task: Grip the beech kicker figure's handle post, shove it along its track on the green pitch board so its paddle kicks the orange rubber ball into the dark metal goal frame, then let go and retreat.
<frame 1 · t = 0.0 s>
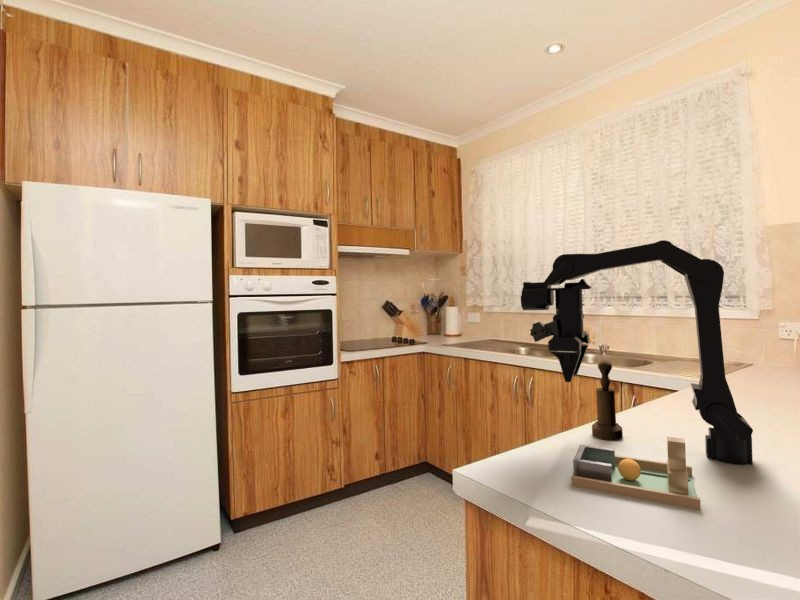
hand: (571, 378, 95), 15 cm above the worktop, fingers open, 9 cm apart
pitch: (633, 485, 73), on the worktop
ball: (629, 469, 73), point 3 cm above the worktop, touching pitch
pepper mill: (607, 436, 99), on the worktop
goal: (592, 478, 76), resting on pitch
kicker: (676, 462, 69), point 5 cm above the worktop, slide at 0.0 cm
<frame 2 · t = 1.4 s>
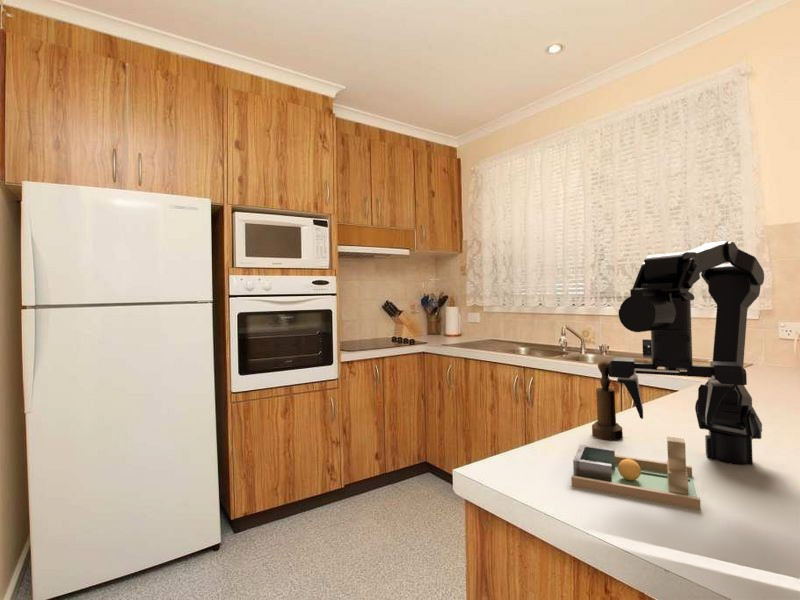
hand: (673, 421, 70), 12 cm above the worktop, fingers open, 9 cm apart
nothing on the worktop moved.
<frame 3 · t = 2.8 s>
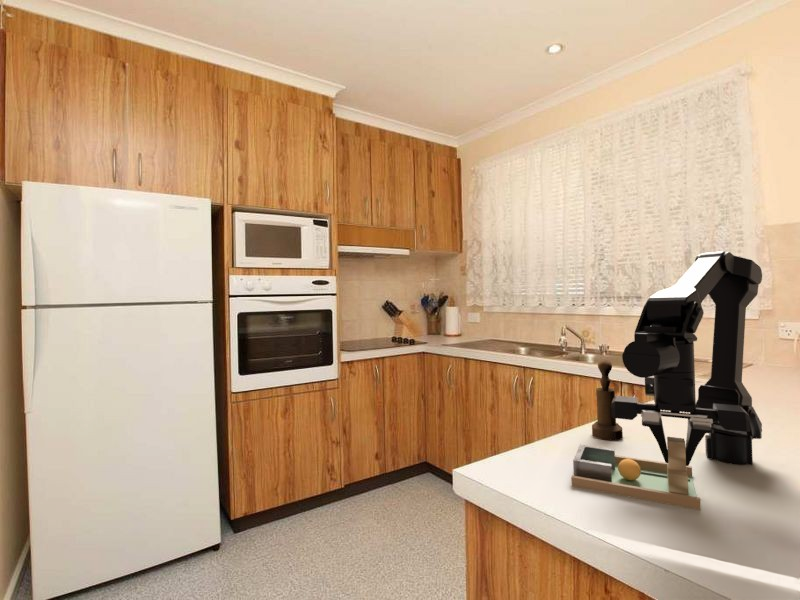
hand: (676, 463, 69), 5 cm above the worktop, fingers closed on kicker, 2 cm apart
kicker: (676, 462, 69), point 5 cm above the worktop, slide at 0.0 cm, touching gripper
everything else where it was.
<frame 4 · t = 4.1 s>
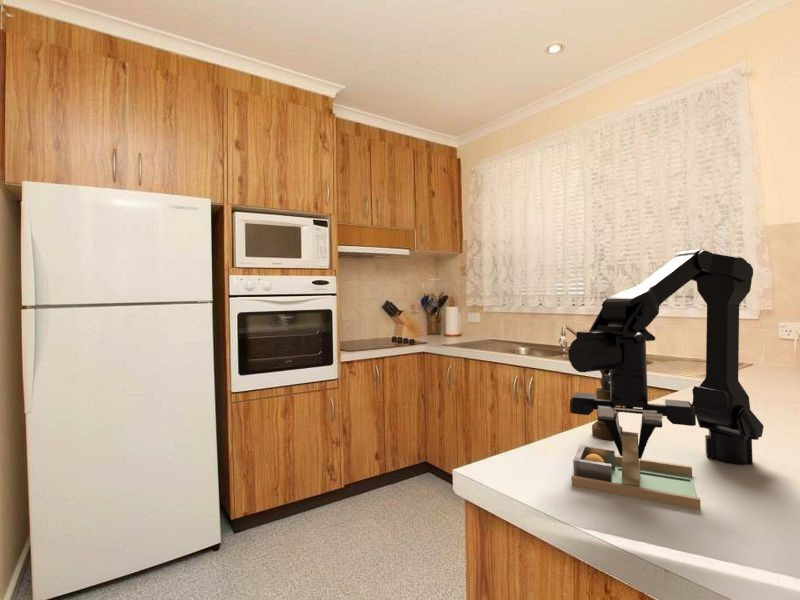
hand: (630, 456, 73), 5 cm above the worktop, fingers closed on kicker, 2 cm apart
ball: (594, 464, 76), point 3 cm above the worktop, tilted 179°, touching pitch
kicker: (630, 456, 73), point 5 cm above the worktop, slide at 6.7 cm, touching gripper
everything else where it was.
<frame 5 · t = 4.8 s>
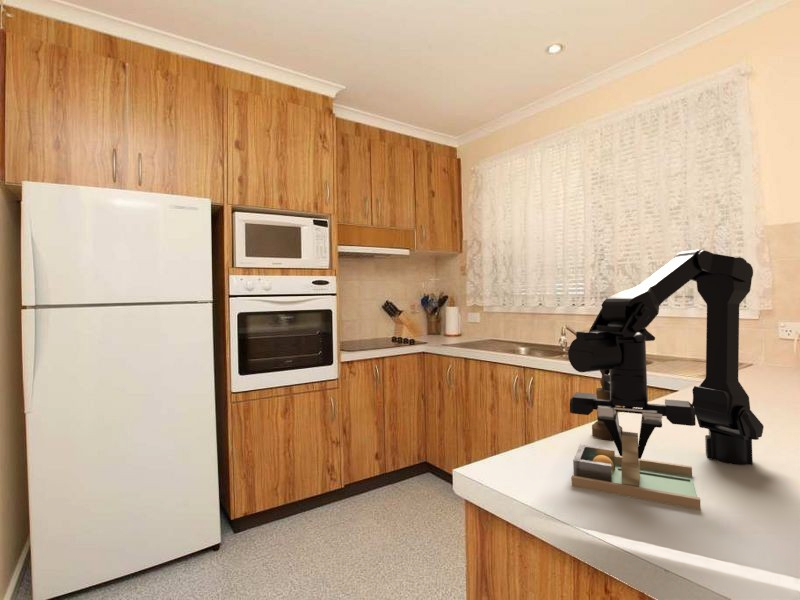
hand: (630, 456, 73), 5 cm above the worktop, fingers closed on kicker, 2 cm apart
ball: (602, 465, 75), point 3 cm above the worktop, tilted 134°, touching pitch
kicker: (630, 456, 73), point 5 cm above the worktop, slide at 6.8 cm, touching gripper
everything else where it was.
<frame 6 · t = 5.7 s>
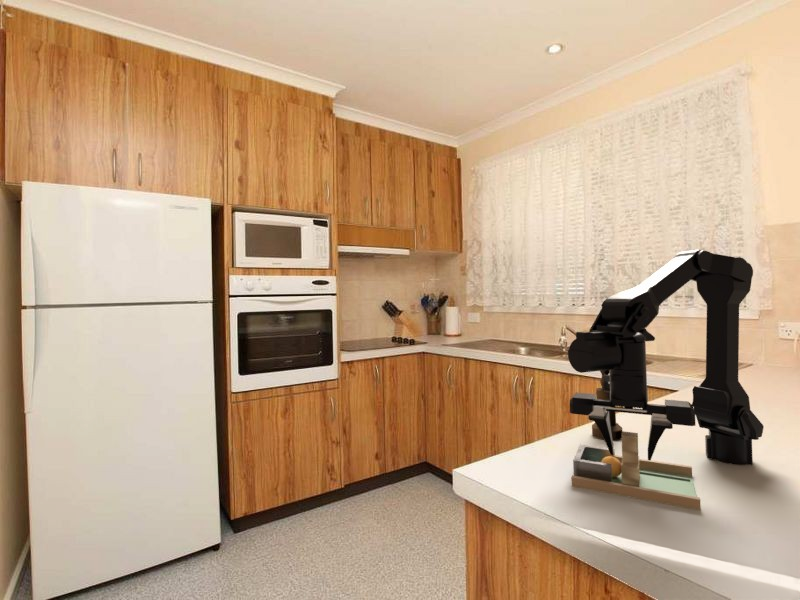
hand: (630, 456, 73), 5 cm above the worktop, fingers open, 5 cm apart
ball: (611, 466, 74), point 3 cm above the worktop, tilted 89°, touching pitch
kicker: (630, 456, 73), point 5 cm above the worktop, slide at 6.8 cm
everything else where it was.
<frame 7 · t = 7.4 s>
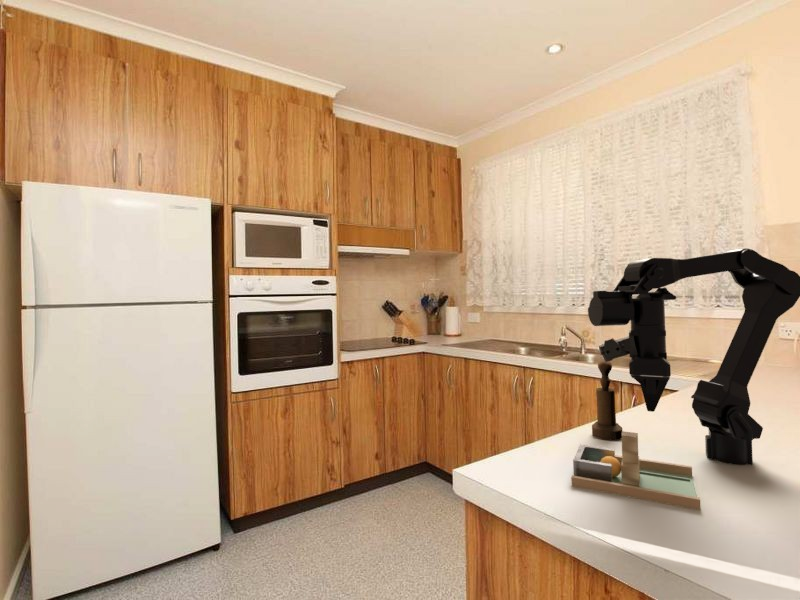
hand: (650, 405, 80), 12 cm above the worktop, fingers open, 9 cm apart
nothing on the worktop moved.
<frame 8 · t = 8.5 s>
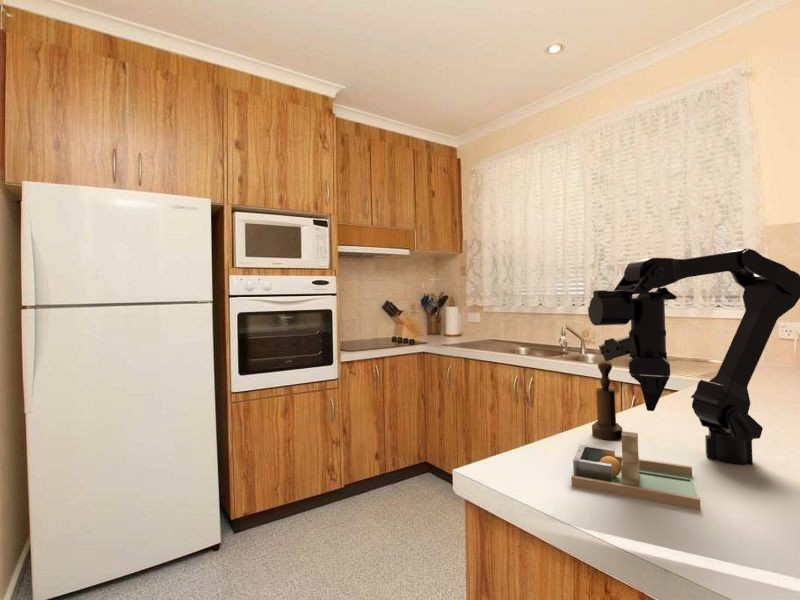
hand: (650, 404, 80), 12 cm above the worktop, fingers open, 9 cm apart
nothing on the worktop moved.
at the end: ball inside the target area (2.0 cm from its centre), point 2.7 cm above the worktop; kicker slide at 6.8 cm; the gripper is holding nothing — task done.
